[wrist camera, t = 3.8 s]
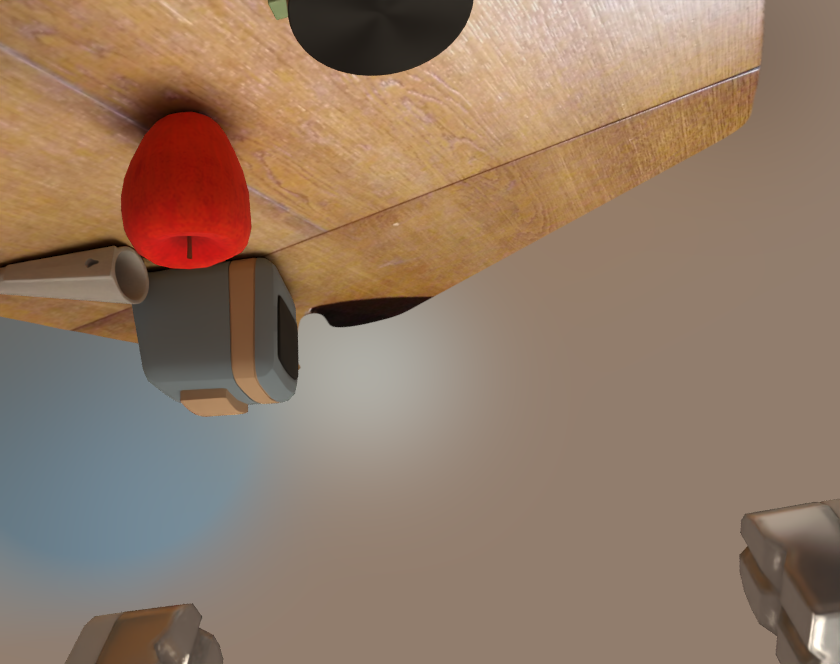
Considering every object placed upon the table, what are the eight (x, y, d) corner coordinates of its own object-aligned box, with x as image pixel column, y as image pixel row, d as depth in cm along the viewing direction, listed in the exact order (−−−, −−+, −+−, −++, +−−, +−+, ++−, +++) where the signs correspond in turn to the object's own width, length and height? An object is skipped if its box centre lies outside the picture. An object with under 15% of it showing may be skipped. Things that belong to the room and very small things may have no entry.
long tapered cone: (-20, 330, 67) (145, 313, 65) (-72, 306, 62) (107, 286, 59) (-8, 282, 70) (152, 264, 67) (-57, 255, 64) (116, 234, 61)
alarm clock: (296, 297, 85) (309, 413, 80) (174, 315, 84) (181, 433, 79) (272, 248, 69) (286, 388, 65) (121, 269, 68) (126, 413, 64)
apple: (121, 75, 41) (125, 224, 38) (255, 97, 45) (269, 233, 42) (115, 151, 48) (119, 280, 45) (231, 164, 52) (241, 283, 49)
